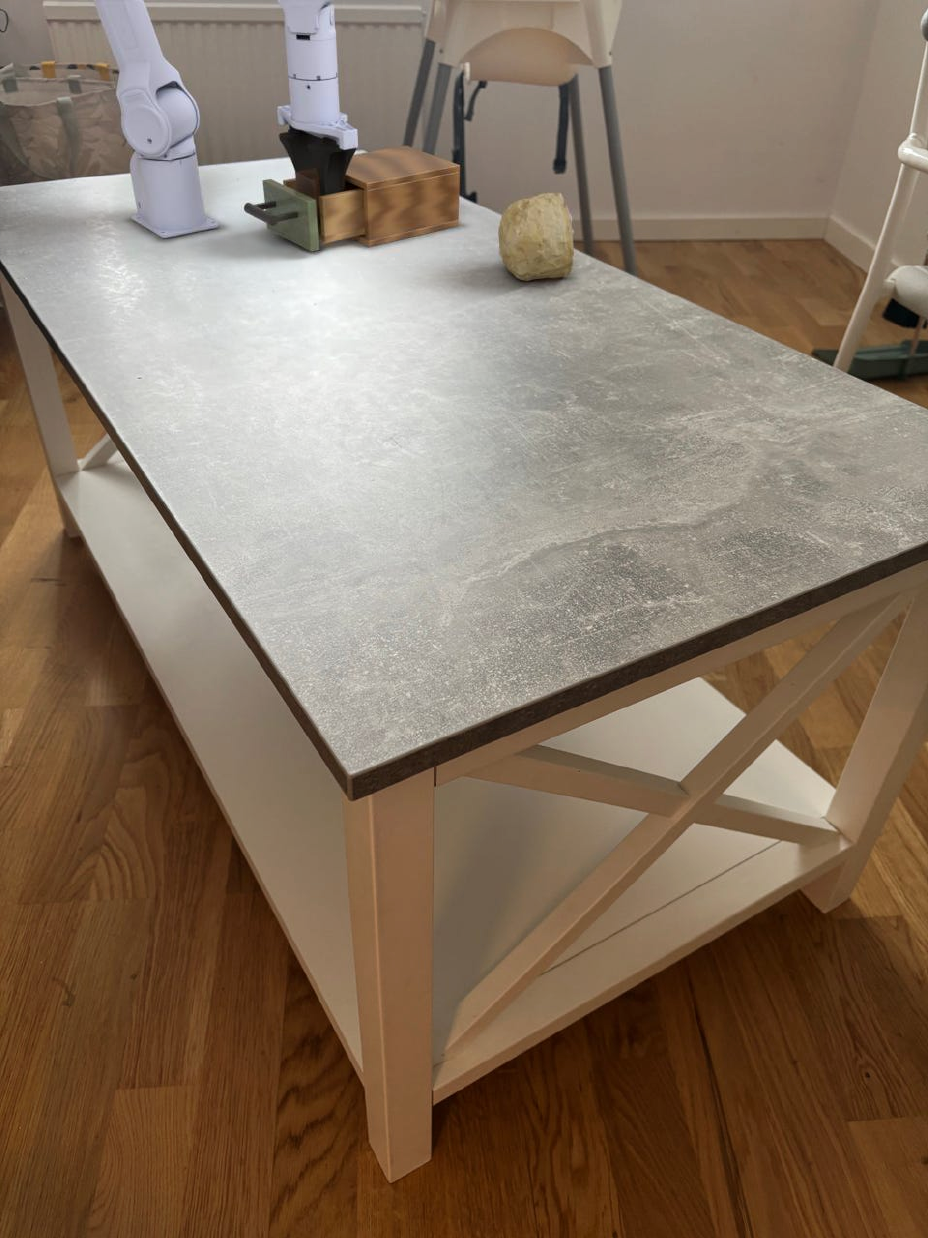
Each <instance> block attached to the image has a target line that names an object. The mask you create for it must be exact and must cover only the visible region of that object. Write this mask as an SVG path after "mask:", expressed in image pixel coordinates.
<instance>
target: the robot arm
mask: <svg viewBox="0 0 928 1238" xmlns="http://www.w3.org/2000/svg"><path fill="white" fill-rule="evenodd" d="M276 1H277V2H278V5H279V6H280V7H281V8H282V10H283V21H284V40H285V51H286V53H285V54H286V65H287V76H288V77H287V78H288V90H289V102H290V103H289V104H287V105H280V106H279V105H278V106H277V107H276V113H277V124H278V125H281V126H288V127H289V129H287V131H286V132H285V131H284V132H280V133H278V138H279V141H280V143H281V144H282V146H283V148H284V149H285V152H286V153H287V155H288V157H289V159H290V162H291V165H292V167H293V170H294V173H295V172H298V171H304V170H309V169H315V168H316V169H317V173H318V178H319V185H320V192H321V196H325V195H330V194H335V193H340V192H342V190H343V185H344V180H345V176H346V172H347V169H348V166H349V164H350V161H351V159H352V157H353V155H355V154H356V151H357V148H359V137H358V136H359V135H358V133H359V132H358V129H357V128H355V127H353V126H351V125H350V124H349V123H348V115H347V113H343V112H341V110H340V108H341V107H340V92H339V91H340V89H339V70H338V69H339V65H338V50H337V49H338V47H337V29H336V23H335V22H336V20H335V19H336V18H335V4H334V3H333V2H334V0H276ZM92 2H93V4H94V7H95V10H96V12H97V15H98V18H99V20H100V23H101V25H102V27H103V31H104V33H105V35H106V38H107V41H108V44H109V46H110V49H111V51H112V55H113V57H114V59H115V62H116V65H117V67H118V70H119V71H118V79H117V84H116V89H115V96H116V100H117V101H118V105H119V108H120V125H121V130H122V133H123V137H124V138H125V140H126V142H127V143H128V144H129V146H130V147H131V148H132V149H133V150H134V152H133V153H132V155H131V158H130V161H129V173H130V178H131V183H132V184H131V185H132V189H133V195H134V199H135V205H136V211H137V213H136V214H132V215H131V220H132V221H134V222H136V223H137V224H139V225H140V226H142V227H144V228H145V229H147V230H149V231H150V232H151V233H154V234H155V235H157V236H159V237H160V238H162V239H168V238H174V237H178V236H183V235H188V234H192V233H197V232H201V231H208V230H213V229H217V228H219V227H220V222H218V221H215V220H214V219H212V218H210V217H208V216H207V215H206V210H205V205H204V204H205V203H204V197H203V189H202V184H201V176H200V167H199V161H198V154H197V147H196V144H195V137H194V136H195V135H196V133H197V132H198V129H199V127H200V124H201V123H200V122H201V114H200V108H199V106H198V103H197V102H196V100H195V98H194V97H193V96H192V94H191V93H190V92H189V91H188V90H187V88H186V87H185V85H184V83H183V80H182V79H181V75H180V72H179V71H178V70H177V69H176V68H175V67H174V66H173V65H172V64H171V63H170V62H169V61H168V60H167V59H166V58H165V57H164V54H163V51H162V49H161V46H160V43H159V40H158V37H157V34H156V32H155V28H154V26H153V24H152V21H151V18H150V15H149V12H148V8H147V7H146V3H145V1H144V0H92Z"/></svg>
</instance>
